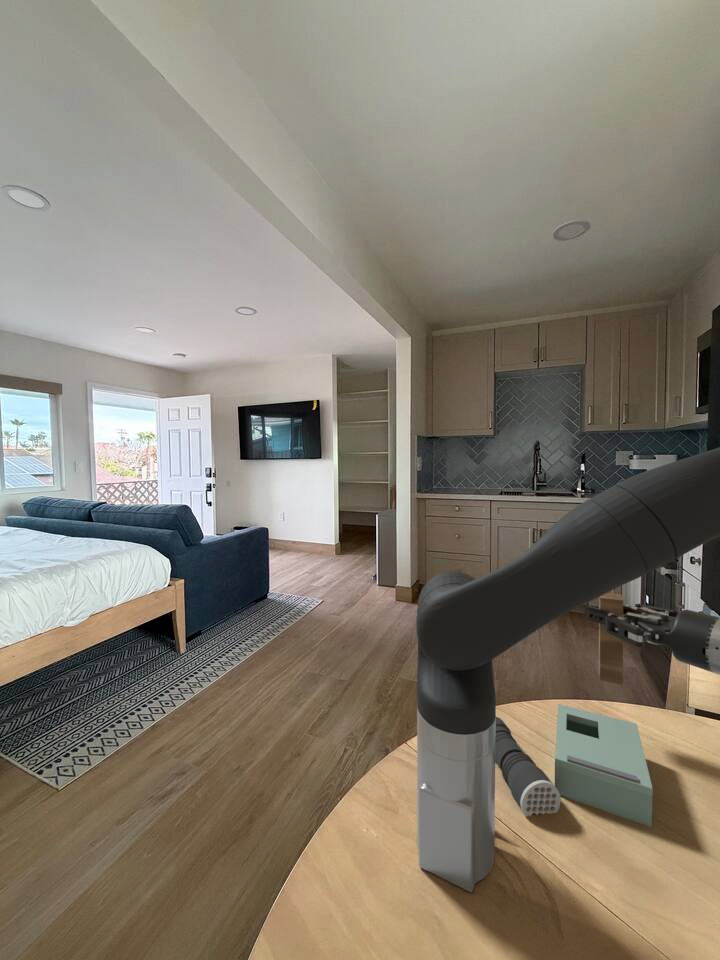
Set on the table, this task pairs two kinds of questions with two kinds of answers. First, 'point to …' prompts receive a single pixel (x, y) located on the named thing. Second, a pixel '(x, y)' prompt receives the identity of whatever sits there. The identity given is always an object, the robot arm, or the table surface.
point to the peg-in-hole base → (602, 764)
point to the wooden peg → (610, 643)
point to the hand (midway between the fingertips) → (594, 608)
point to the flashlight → (524, 775)
